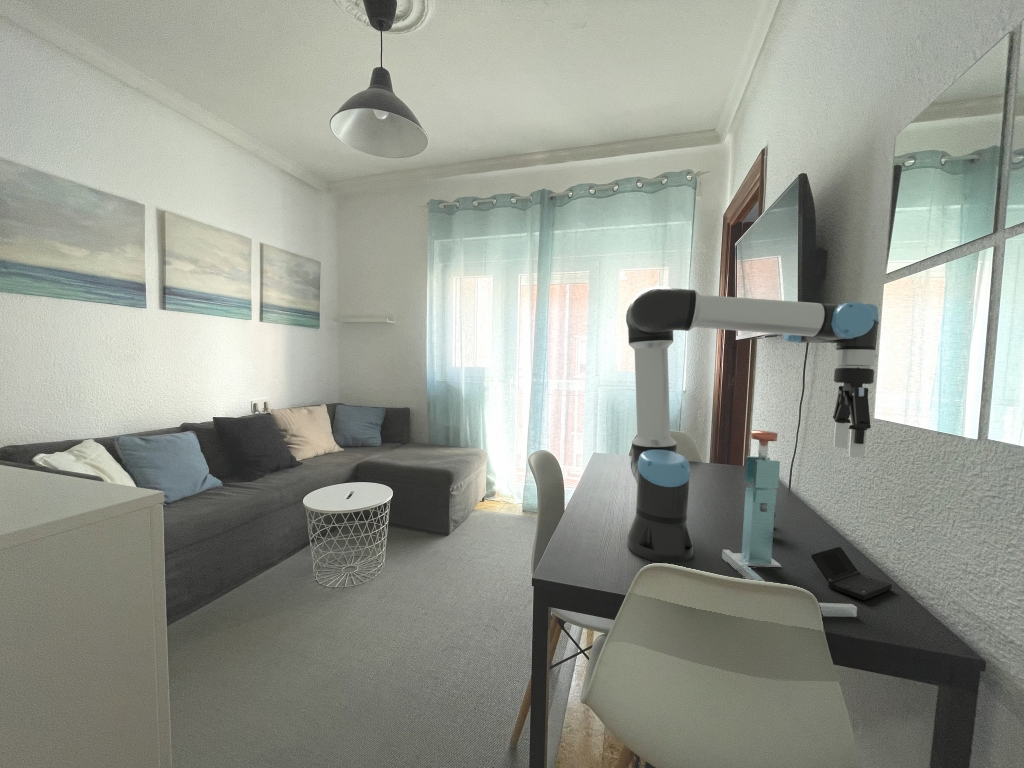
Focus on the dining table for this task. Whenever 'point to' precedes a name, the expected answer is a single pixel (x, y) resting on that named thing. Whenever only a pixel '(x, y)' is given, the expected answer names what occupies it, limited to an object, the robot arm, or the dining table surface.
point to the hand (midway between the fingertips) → (847, 452)
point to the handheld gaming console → (847, 575)
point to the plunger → (763, 441)
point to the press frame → (765, 528)
